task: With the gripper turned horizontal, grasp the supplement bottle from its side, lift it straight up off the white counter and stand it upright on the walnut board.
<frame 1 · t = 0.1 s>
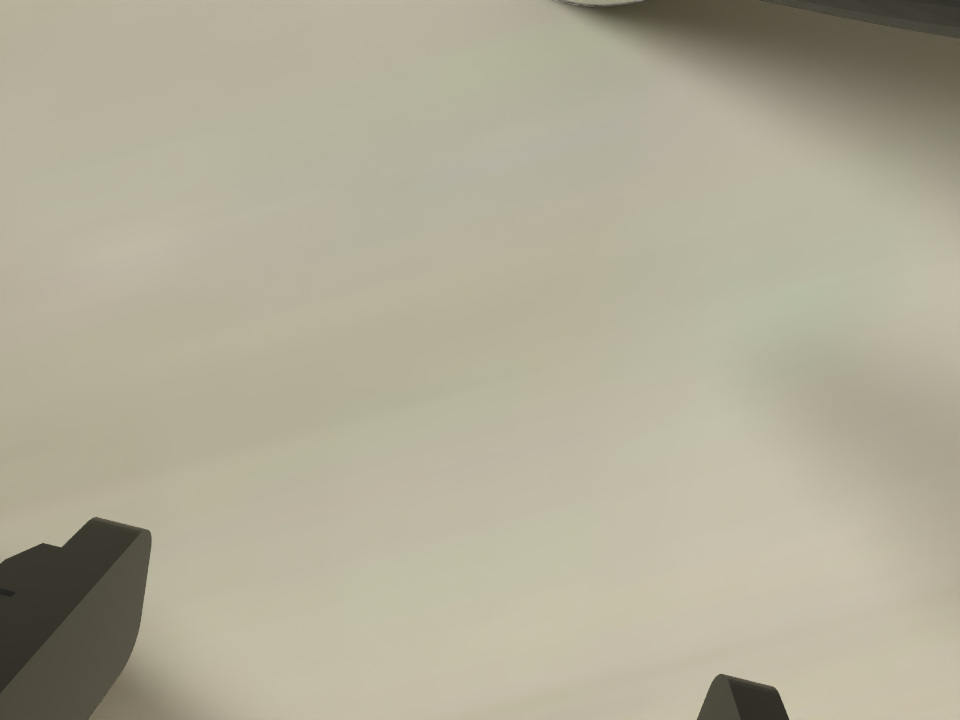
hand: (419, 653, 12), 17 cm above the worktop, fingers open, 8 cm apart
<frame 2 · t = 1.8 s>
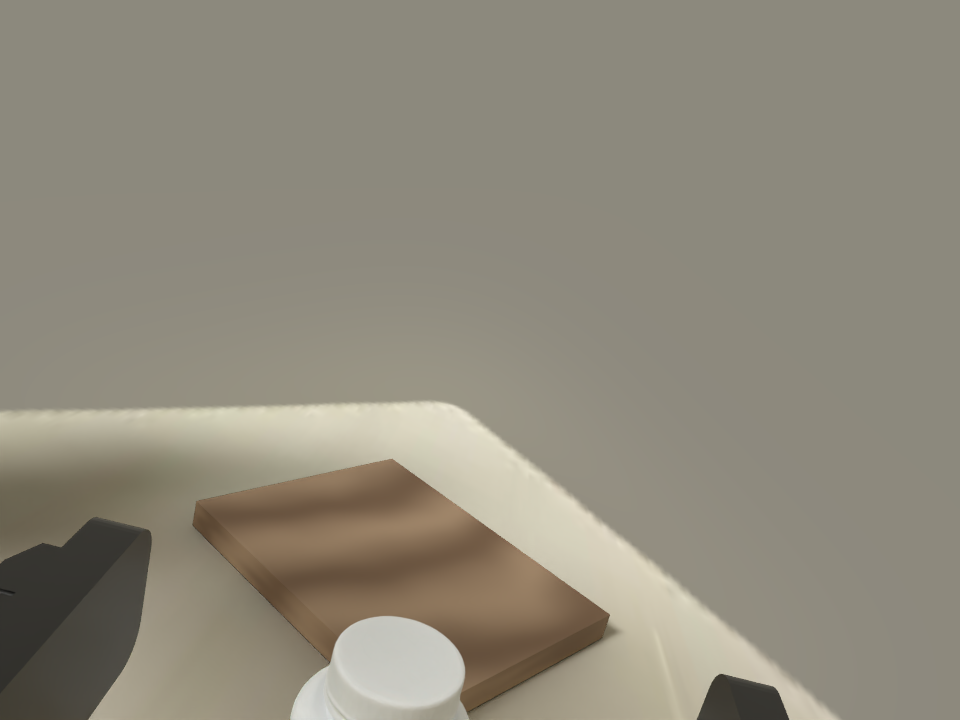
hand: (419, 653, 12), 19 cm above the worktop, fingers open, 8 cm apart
walnut board: (396, 581, 47), on the worktop
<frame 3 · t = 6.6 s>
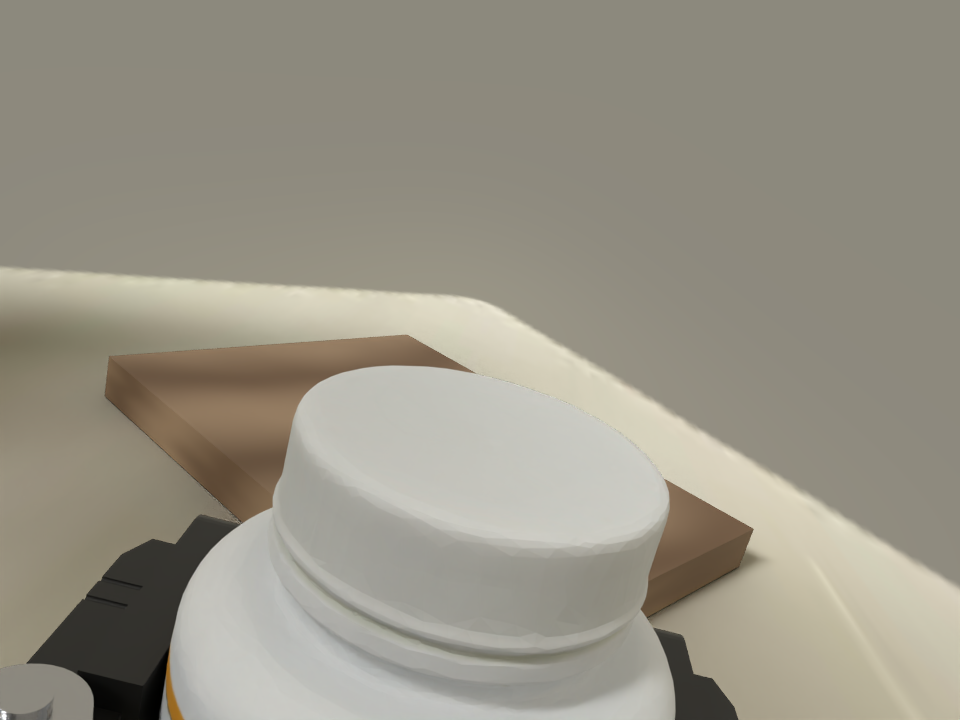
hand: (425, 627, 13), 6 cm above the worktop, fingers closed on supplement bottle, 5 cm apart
walnut board: (419, 480, 30), on the worktop
when the fingers open (9 cm above the worktop, at t = 12.0 s): supplement bottle drops 1 cm, resting on walnut board.
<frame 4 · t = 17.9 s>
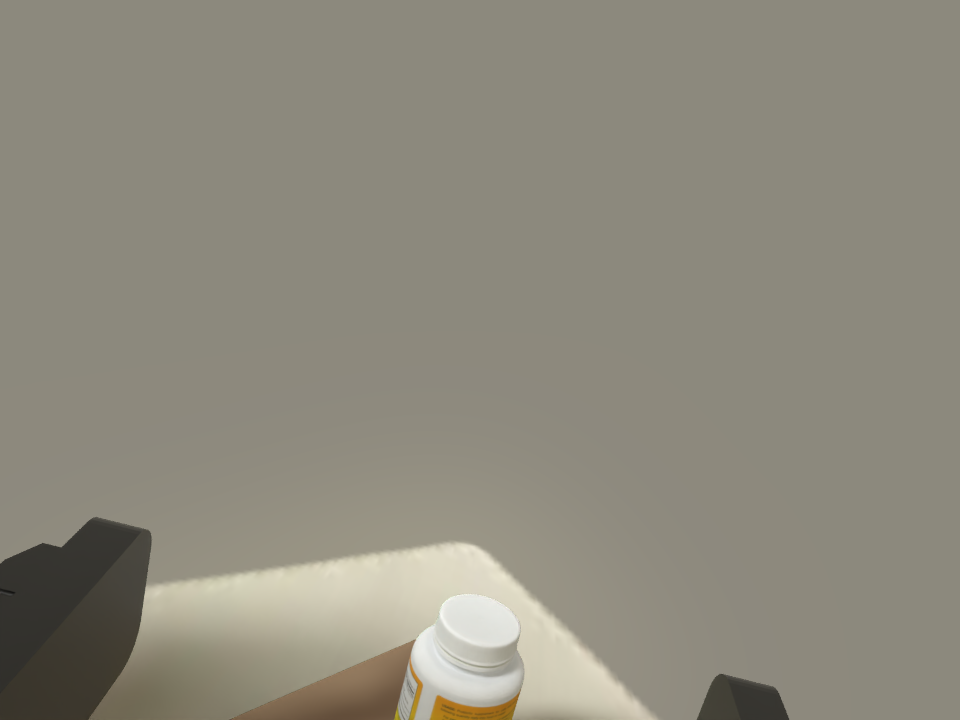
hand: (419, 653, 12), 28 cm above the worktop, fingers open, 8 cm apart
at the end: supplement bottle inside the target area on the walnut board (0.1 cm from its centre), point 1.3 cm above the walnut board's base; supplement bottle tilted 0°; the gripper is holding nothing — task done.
